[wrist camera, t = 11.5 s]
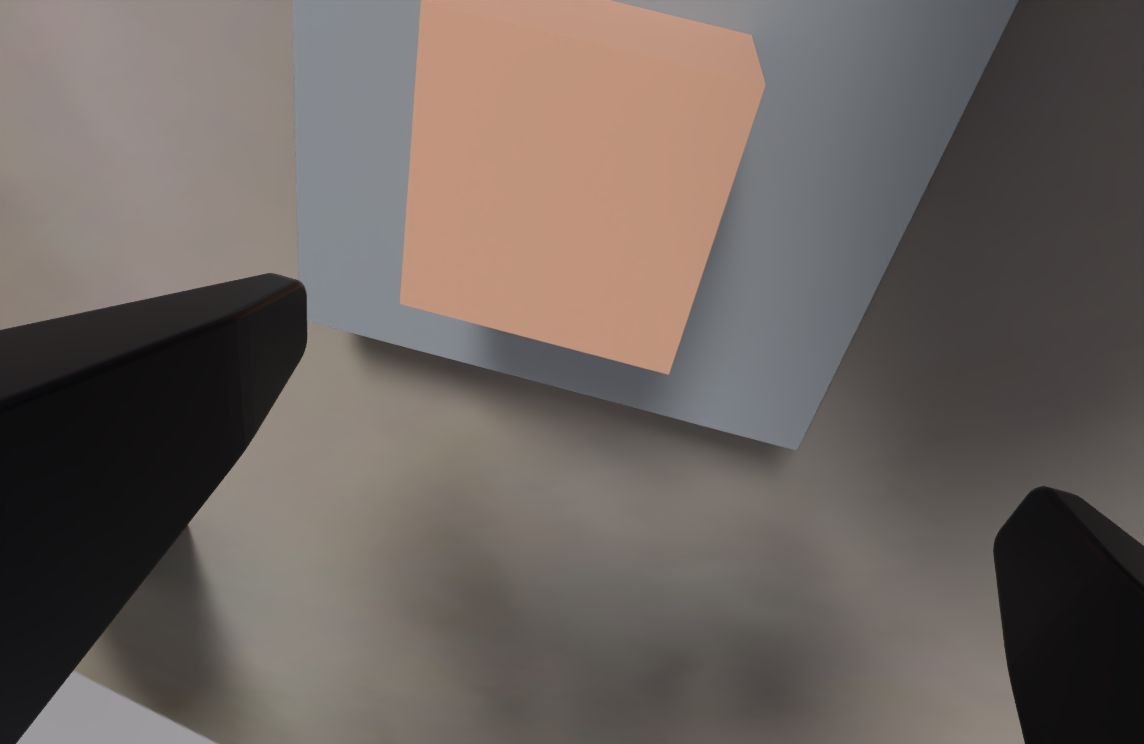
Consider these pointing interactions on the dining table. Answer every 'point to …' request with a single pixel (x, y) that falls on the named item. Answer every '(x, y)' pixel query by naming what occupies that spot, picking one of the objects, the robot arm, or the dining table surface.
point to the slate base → (748, 224)
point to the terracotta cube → (572, 168)
